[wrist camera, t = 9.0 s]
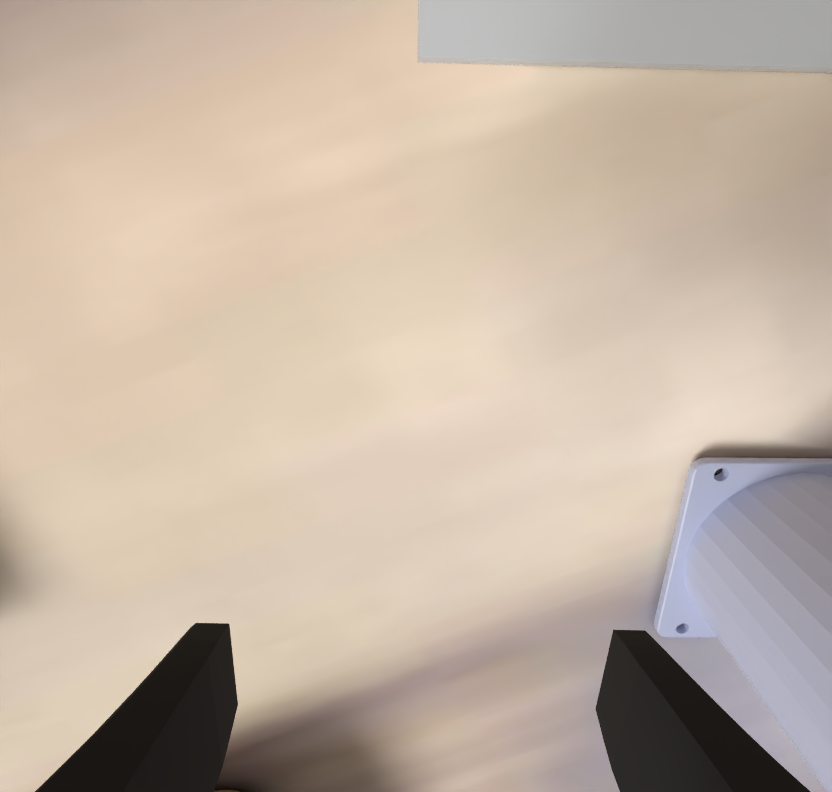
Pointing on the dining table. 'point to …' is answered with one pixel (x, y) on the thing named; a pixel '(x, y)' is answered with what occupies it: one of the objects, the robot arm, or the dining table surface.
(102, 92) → the dining table surface
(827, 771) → the robot arm
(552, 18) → the mat
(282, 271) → the dining table surface
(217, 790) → the ceramic mug
